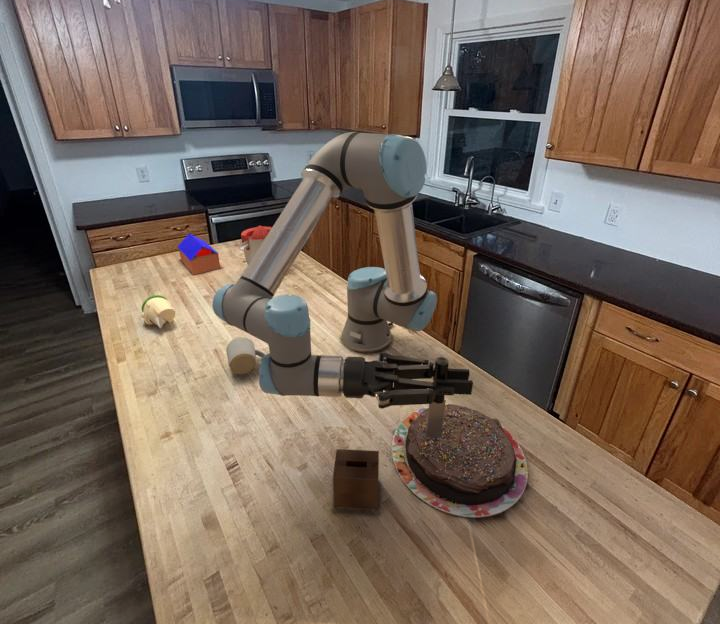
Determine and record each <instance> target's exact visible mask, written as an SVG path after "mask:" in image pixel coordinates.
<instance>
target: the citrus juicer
mask: <svg viewBox="0 0 720 624" xmlns="http://www.w3.org/2000/svg"><path fill="white" fill-rule="evenodd" d="M272 227H273V226H262V225H258V226H256V227H250V228H247V229H245V230H243V231H241V232H240V233H241V234H240V236H241V237H240V239H241V243H240V244H239V247H238V248H239V250H240V251H243V254H244V255H243V256H244V259H245V262H246V264H247V265H248V264H249V263H250V261H251V260H252V258H253V257H254V255H255V253H256V252H257V250H258V249H259V247H260V246H261V244H262V243H263V241H264V239H265V238H266V236H267V235H268V233H269V232H270V230H271V229H272Z"/></svg>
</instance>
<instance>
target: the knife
mask: <svg viewBox="0 0 720 624" xmlns="http://www.w3.org/2000/svg"><path fill="white" fill-rule="evenodd" d="M434 362H435V363H434V367H435V370H434V379H433V378H432V382H435V383H436V379H447V374H448V368H449V366H450V365H449V364H450V361H449V359H448V358H446V357H443V356H437V358H435V361H434ZM445 396H446V395H436V396H435V399H434V400H433V403H432V404H428V406H429V411H428V420H427V430H426V437H428V438H441V434H442V426H443V418H444V410H445V404H446V403H447V402H446V399H447V398H445Z"/></svg>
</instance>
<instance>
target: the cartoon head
mask: <svg viewBox="0 0 720 624" xmlns="http://www.w3.org/2000/svg"><path fill="white" fill-rule="evenodd" d="M140 316H141V318H142V319H143V320H144V321H145V324H146V325H154V326H157V327H158V328H159V330H160V329H162V327H163V326H164V324H166V323H167V322H168V323H171V322H172V321H173V320H174V319H175V317H176V311H175V309H174V308H173V305H172V303H170V301H169V300H168V299H167V298H166V297H165V296H163V295H159V294H155V295H151V296H148V297H147V298H146V299H145V300H144V301H143V303H142V305H141V315H140Z"/></svg>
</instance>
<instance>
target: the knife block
mask: <svg viewBox="0 0 720 624" xmlns="http://www.w3.org/2000/svg"><path fill="white" fill-rule="evenodd" d="M335 451H336V452H335V458H334V465H333V473H332V489H333V508H338V509H339V508H340V509H341V508H342V509H357V510H358V509H359V510H375V511H376V510H377V511H378V502H379V471H380V470H379V469H380V468H379V465H380V462H379V461H380V452H379V450H366V449H365V450H363V449H341V448H336V450H335Z"/></svg>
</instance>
